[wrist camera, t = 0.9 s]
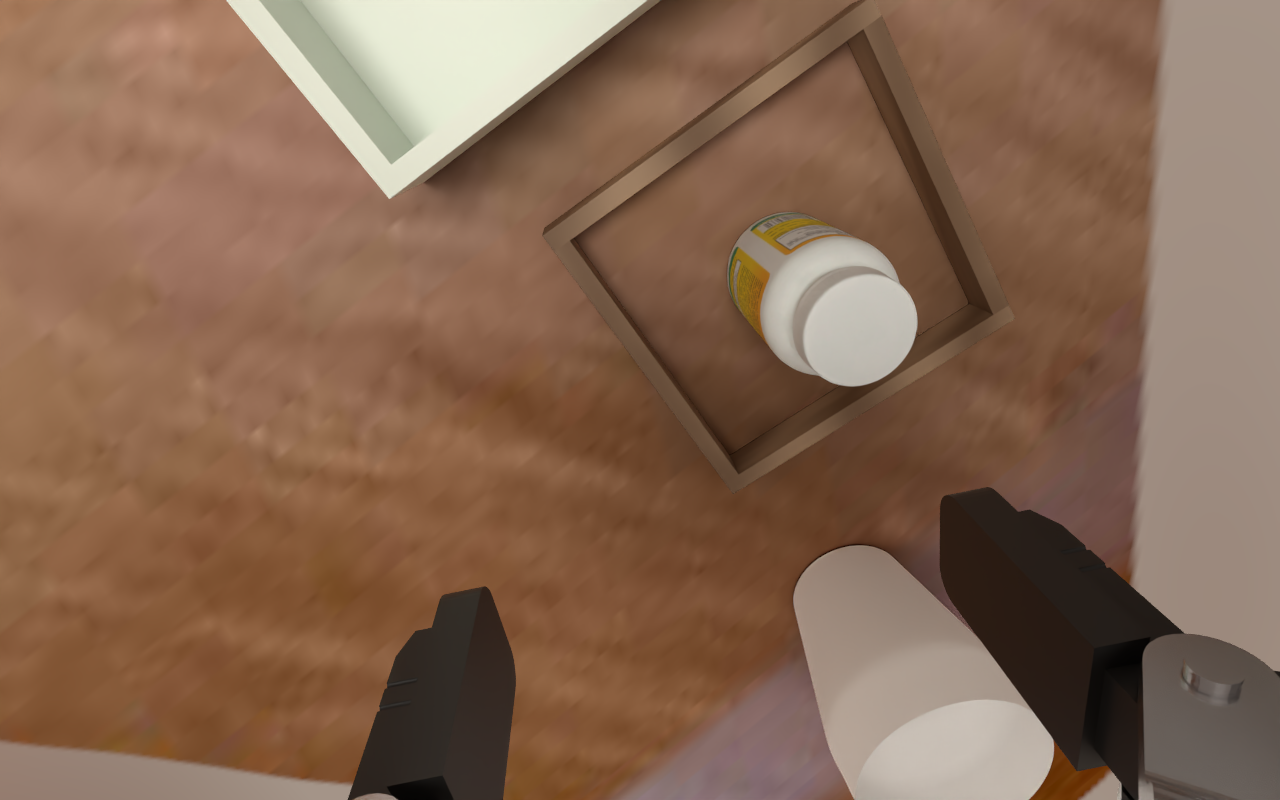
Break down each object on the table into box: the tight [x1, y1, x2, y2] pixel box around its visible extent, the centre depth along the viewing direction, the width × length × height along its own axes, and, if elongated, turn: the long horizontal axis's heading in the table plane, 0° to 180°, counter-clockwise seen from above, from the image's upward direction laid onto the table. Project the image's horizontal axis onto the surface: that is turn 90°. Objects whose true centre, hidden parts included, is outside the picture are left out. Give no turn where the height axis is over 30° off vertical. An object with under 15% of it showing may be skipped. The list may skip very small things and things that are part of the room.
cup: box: [793, 545, 1054, 800], centre depth 34 cm, size 9×9×12 cm
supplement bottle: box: [727, 212, 917, 386], centre depth 27 cm, size 5×5×10 cm
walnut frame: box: [543, 0, 1015, 494], centre depth 30 cm, size 16×16×2 cm
